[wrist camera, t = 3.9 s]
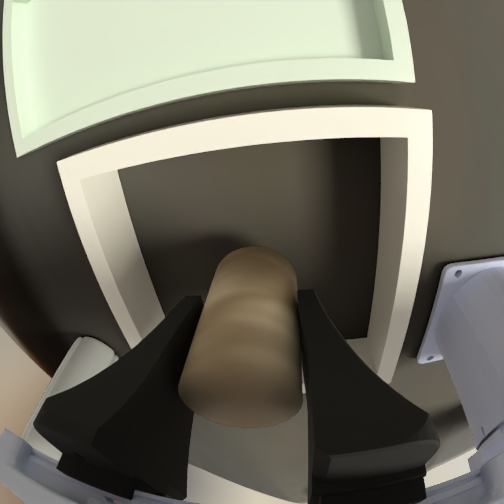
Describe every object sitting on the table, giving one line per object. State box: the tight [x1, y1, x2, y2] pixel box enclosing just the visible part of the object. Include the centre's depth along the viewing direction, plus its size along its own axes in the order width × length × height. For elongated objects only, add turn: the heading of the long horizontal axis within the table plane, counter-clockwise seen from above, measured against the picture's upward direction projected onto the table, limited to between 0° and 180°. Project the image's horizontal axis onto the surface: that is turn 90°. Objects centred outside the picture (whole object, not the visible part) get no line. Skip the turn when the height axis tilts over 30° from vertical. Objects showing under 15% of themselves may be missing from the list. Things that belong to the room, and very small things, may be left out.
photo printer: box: [21, 337, 119, 461], centre depth 16 cm, size 10×4×12 cm, turn 155°
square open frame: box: [57, 105, 433, 393], centre depth 13 cm, size 14×14×3 cm
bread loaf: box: [178, 247, 303, 428], centre depth 10 cm, size 4×4×6 cm
